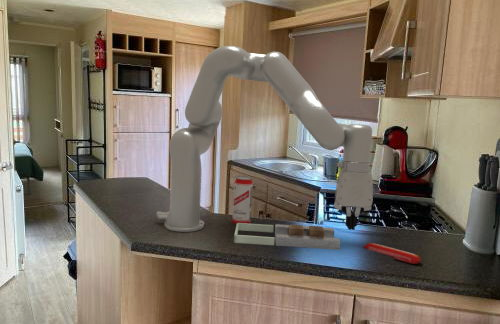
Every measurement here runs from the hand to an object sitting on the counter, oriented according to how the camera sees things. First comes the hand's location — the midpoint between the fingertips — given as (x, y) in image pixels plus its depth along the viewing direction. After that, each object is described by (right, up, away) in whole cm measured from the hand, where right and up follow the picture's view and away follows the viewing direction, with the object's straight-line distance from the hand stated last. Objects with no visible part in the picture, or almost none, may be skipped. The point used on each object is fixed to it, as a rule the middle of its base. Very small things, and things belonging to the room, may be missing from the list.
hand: (350, 228), depth 117 cm
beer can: (-33, -2, +16) cm, 37 cm away
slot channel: (-13, -5, +1) cm, 14 cm away
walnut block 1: (-16, -4, +1) cm, 17 cm away
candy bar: (+10, -8, -5) cm, 14 cm away
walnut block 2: (-10, -4, +1) cm, 11 cm away
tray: (-28, -4, +2) cm, 29 cm away
